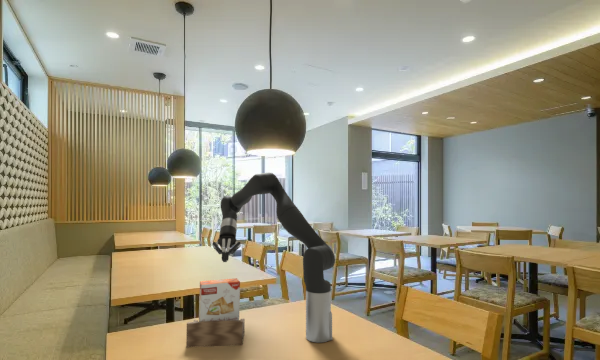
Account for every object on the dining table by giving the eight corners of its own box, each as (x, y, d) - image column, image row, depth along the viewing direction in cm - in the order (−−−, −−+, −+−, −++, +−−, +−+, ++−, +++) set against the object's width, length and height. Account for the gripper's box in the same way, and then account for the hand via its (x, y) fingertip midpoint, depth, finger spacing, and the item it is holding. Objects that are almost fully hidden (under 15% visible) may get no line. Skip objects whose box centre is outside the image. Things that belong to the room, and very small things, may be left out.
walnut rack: (244, 331, 128) (244, 310, 129) (242, 344, 117) (242, 321, 117) (193, 333, 126) (194, 312, 127) (186, 347, 115) (186, 323, 115)
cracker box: (199, 345, 117) (200, 284, 118) (198, 338, 122) (199, 280, 123) (239, 339, 122) (240, 280, 123) (236, 332, 127) (237, 277, 129)
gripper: (213, 224, 154) (208, 256, 141) (242, 224, 155) (239, 255, 142) (214, 235, 159) (210, 266, 146) (242, 234, 160) (240, 265, 147)
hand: (224, 261), depth 144 cm, fingers closed
